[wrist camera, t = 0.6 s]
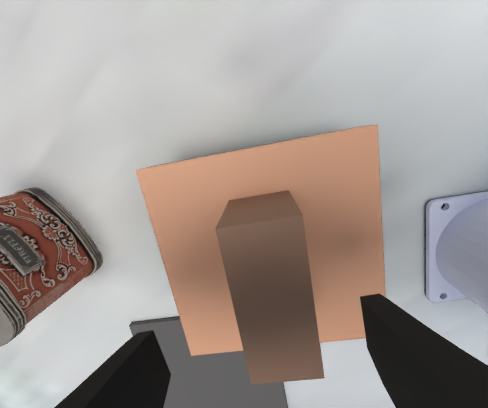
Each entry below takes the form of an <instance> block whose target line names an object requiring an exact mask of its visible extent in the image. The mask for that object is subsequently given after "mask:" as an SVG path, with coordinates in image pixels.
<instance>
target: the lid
mask: <svg viewBox="0 0 488 408" xmlns="http://www.w3.org/2000/svg"><path fill="white" fill-rule="evenodd" d="M136 173H137V176H138V179H139V183H140V186H141V189H142V193H143V196H144V199H145V203H146V206H147V209H148V213H149V216H150V219H151V223H152V226H153V229H154V233H155V236H156V239H157V243H158V246H159V250H160V253H161V256H162V260H163V263H164V266H165V270H166V273H167V276H168V280H169V283H170V286H171V290H172V293H173V296H174V300H175V303H176V306H177V310H178V313H179V316H180V320H181V323H182V326H183V330H184V333H185V337H186V340H187V343H188V347H189V350H190V353H191V356H194V355H204V354H214V353H224V352H234V351H244V355H245V360H246V364H247V368H248V373H249V377H250V381H251V384H263V383H274V382H286V381H297V380H309V379H321V378H324V372H323V364H322V357H321V349H320V343H322V342H332V341H342V340H352V339H362V338H366V335H365V328H364V321H363V315H362V308H361V301H360V296H366V295H373V294H379V293H380V294H381V295H383V296H384V297H386V294H385V273H384V252H383V231H382V211H381V190H380V169H379V148H378V127H377V125H369V126H360V127H355V128H350V129H345V130H339V131H334V132H329V133H324V134H318V135H313V136H308V137H303V138H297V139H292V140H287V141H282V142H276V143H271V144H266V145H261V146H255V147H250V148H245V149H240V150H234V151H229V152H224V153H219V154H213V155H208V156H203V157H198V158H192V159H187V160H182V161H177V162H171V163H166V164H161V165H156V166H151V167H147V168H143V169H139V170H136Z"/></svg>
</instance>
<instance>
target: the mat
mask: <svg viewBox="0 0 488 408" xmlns="http://www.w3.org/2000/svg"><path fill="white" fill-rule="evenodd" d="M129 327H130V329H131V332H132V335H133V336H134V335H136V334H137V333H138V332H145V331H151V330H153V331H154V333H155V336H156V338H157V341H158V343H159V346H160V348H161V351H162V353H163V355H164V358H165V360H166V363H167V365H168V368H169V370H170V373H171V377H170V382H169V386H168V391H167V395H166V399H165V403H164V407H163V408H288V407H287V402H286V396H285V391H284V386H283V382H274V383H263V384H251V381H250V377H249V373H248V368H247V364H246V360H245V355H244V351H234V352H224V353H214V354H204V355H194V356H191V353H190V350H189V347H188V343H187V340H186V337H185V333H184V330H183V326H182V323H181V320H180V317H172V318H163V319H155V320H147V321H138V322H131V324H130V325H129Z"/></svg>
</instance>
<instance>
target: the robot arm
mask: <svg viewBox="0 0 488 408" xmlns="http://www.w3.org/2000/svg"><path fill="white" fill-rule="evenodd" d="M444 203H445V207H444V208H442V209H441V206H442V204H444ZM442 293H443V294H442ZM441 294H442V295H441ZM440 295H441V296H440ZM426 297H427V298H428V299H429V300H430V301H432V302H442V301H451V300H460V299H470V300H472V301H473V302H474V303H475V304H477V305H478V306H479V307H481V308H482V309H483V310H485V311H486V312H487V313H488V191H486V192H479V193H473V194H466V195H460V196H454V197H447V198H441V199H434V200H431V201H430V202H428V204H427V206H426ZM360 301H361V308H362V315H363V321H364V328H365V335H366V342H367V348H368V350H369V353H370V355H371V357H372V360H373V362H374V364H375V367H376V369H377V371H378V374H379V376H380V378H381V380H382V383H383V385H384V387H385V388H386V390H387V392H388V394H389V396H390V398H391V399H392V401H393V403H394V405H395V407H396V408H488V365H486V364H484V363H483V362H481V361H479V360H478V359H476V358H474V357H473V356H471V355H470V354H468V353H467V352H465V351H463V350H462V349H460V348H459V347H457V346H456V345H454V344H453V343H451V342H450V341H448V340H447V339H445V338H443V337H442V336H440V335H439V334H437V333H436V332H434V331H433V330H431V329H430V328H428V327H427V326H426V325H424V324H423V323H421V322H420V321H418V320H417V319H415V318H414V317H413V316H411V315H410V314H408V313H407V312H405V311H404V310H403V309H401V308H400V307H398V306H397V305H396V304H394V303H393V302H391V301H390V300H388V299H387V298H386V297H384V296H383V295H381V294H380V293H379V294H373V295H366V296H360ZM170 377H171V373H170V370H169V368H168V365H167V363H166V360H165V358H164V355H163V353H162V351H161V348H160V346H159V343H158V341H157V338H156V336H155V333H154V331H153V330H151V331H145V332H138V333H137V334H136V335H134V336H133V337H132V338H131V339H129V340H128V341H127V342H126V343H125V344H124V345H123V346H122V347H120V348H119V349H118V350H117V351H116V352H115V353H114V354H113V355H112V356H111V357H110V358H108V359H107V360H106V361H105V362H104V363H103V364H102V365H101V366H100V367H99V368H98V369H97V370H96V371H94V372H93V373H92V374H91V375H90V376H89V377H88V378H87V379H86V380H85V381H84V382H83V383H81V384H80V385H79V386H78V387H77V388H76V389H75V390H74V391H73V392H72V393H70V394H69V395H68V396H67V397H66V398H65V399H64V400H63V401H61V402H60V403H59V404H58V405H57V406H56V407H55V408H163V407H164V403H165V399H166V395H167V391H168V386H169V382H170Z"/></svg>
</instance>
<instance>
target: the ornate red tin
mask: <svg viewBox="0 0 488 408" xmlns="http://www.w3.org/2000/svg"><path fill="white" fill-rule="evenodd" d="M102 262H103V257H102V255H101V253H100V251H99V250H98V248H97V247H96V245H95V244H94V242H93V240H92V239H91V237H90V236H89V235H88V234H87V232H86V231H85V230H84V229H83V227H82V226H81V225H80V224H79V222H78V221H77V220H76V219H75V218H74V217H73V216H72V215H71V214H70V213H69V212H68V211H67V210H66V209H65V208H64V207H63V206H62V205H61V204H59V203H58V202H57V201H56V200H55V199H53V198H52V197H51V196H50V195H48V194H47V193H46V192H45V191H43V190H41V189H39V188H29V189H24V190H20V191H17V192H16V193H14V194H13V195H9V196H5V197H1V198H0V346H3V345H5V344H7V343H9V342H10V341H11V340H12V339H14V338H15V337H16V336H17V335H18V334H20V333H21V332H22V331H23V330H24V329H25V326H26V324H27V323H28V322H30V321H31V320H32V319H33V318H35V317H36V316H37V315H38V314H40V313H41V312H42V311H43V310H45V309H46V308H47V307H48V306H50V305H51V304H52V303H53V302H55V301H56V300H57V299H58V298H60V297H61V296H62V295H63V294H64V293H66V292H67V291H68V290H69V289H71V288H72V287H73V286H74V285H76V284H77V283H78V282H79V281H81V280H82V279H83V278H86V277H88V276H90V275H92V274H93V273H94V272H95V271H97V270H98V269H99V268H100V267H101V265H102Z"/></svg>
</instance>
